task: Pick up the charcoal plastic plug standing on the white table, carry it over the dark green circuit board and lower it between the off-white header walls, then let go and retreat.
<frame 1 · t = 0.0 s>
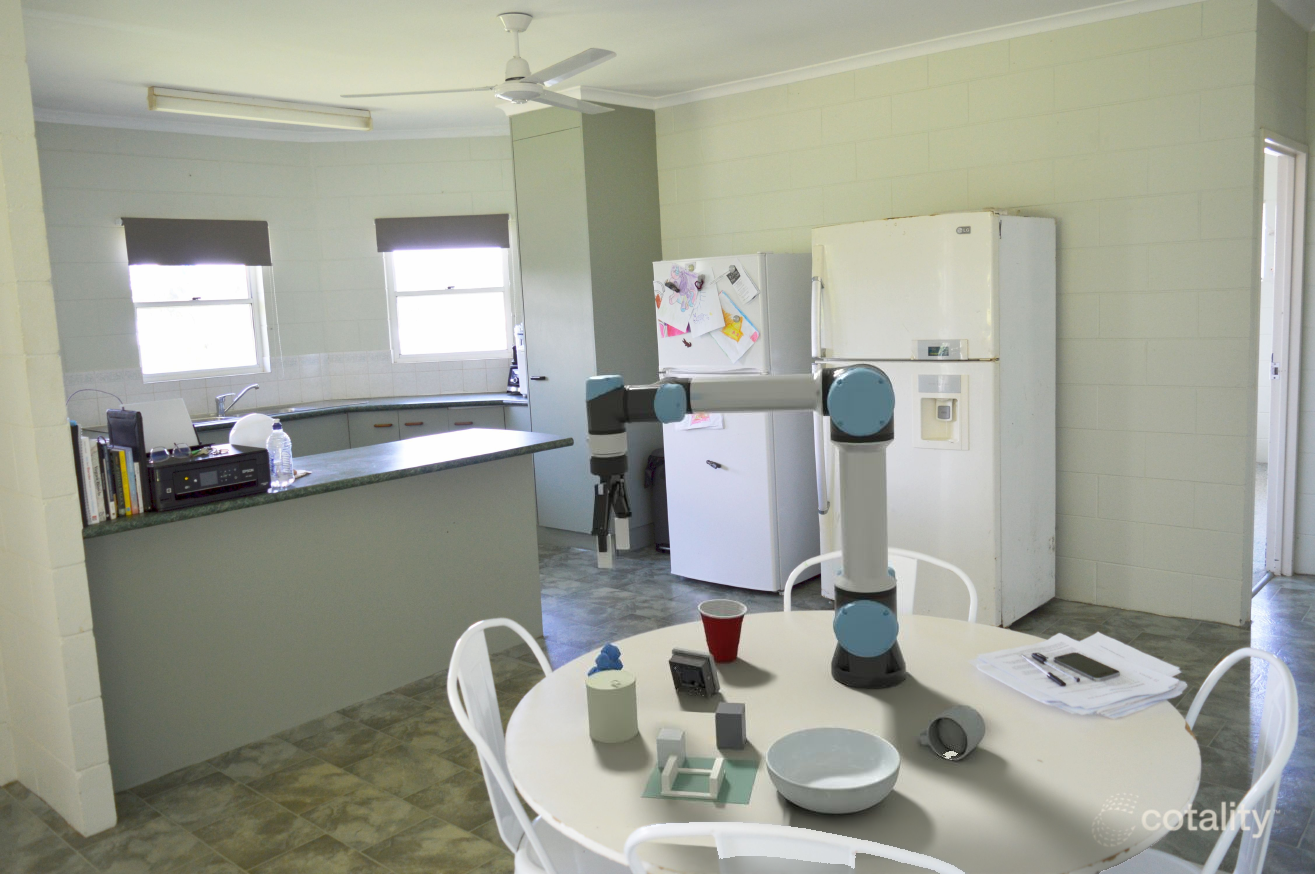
hand: (614, 558, 195), 28 cm above the table, tool pointing down, fingers open, 13 cm apart
electrical switch: (695, 694, 195), on the table
grapes: (605, 704, 193), on the table
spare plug: (672, 761, 164), point 1 cm above the table, touching board
ceramic mug: (949, 750, 166), on the table
serving bowl: (833, 797, 153), on the table
can: (614, 740, 177), on the table
plastic cup: (724, 659, 213), on the table
plug: (732, 751, 170), on the table
board: (702, 786, 158), on the table
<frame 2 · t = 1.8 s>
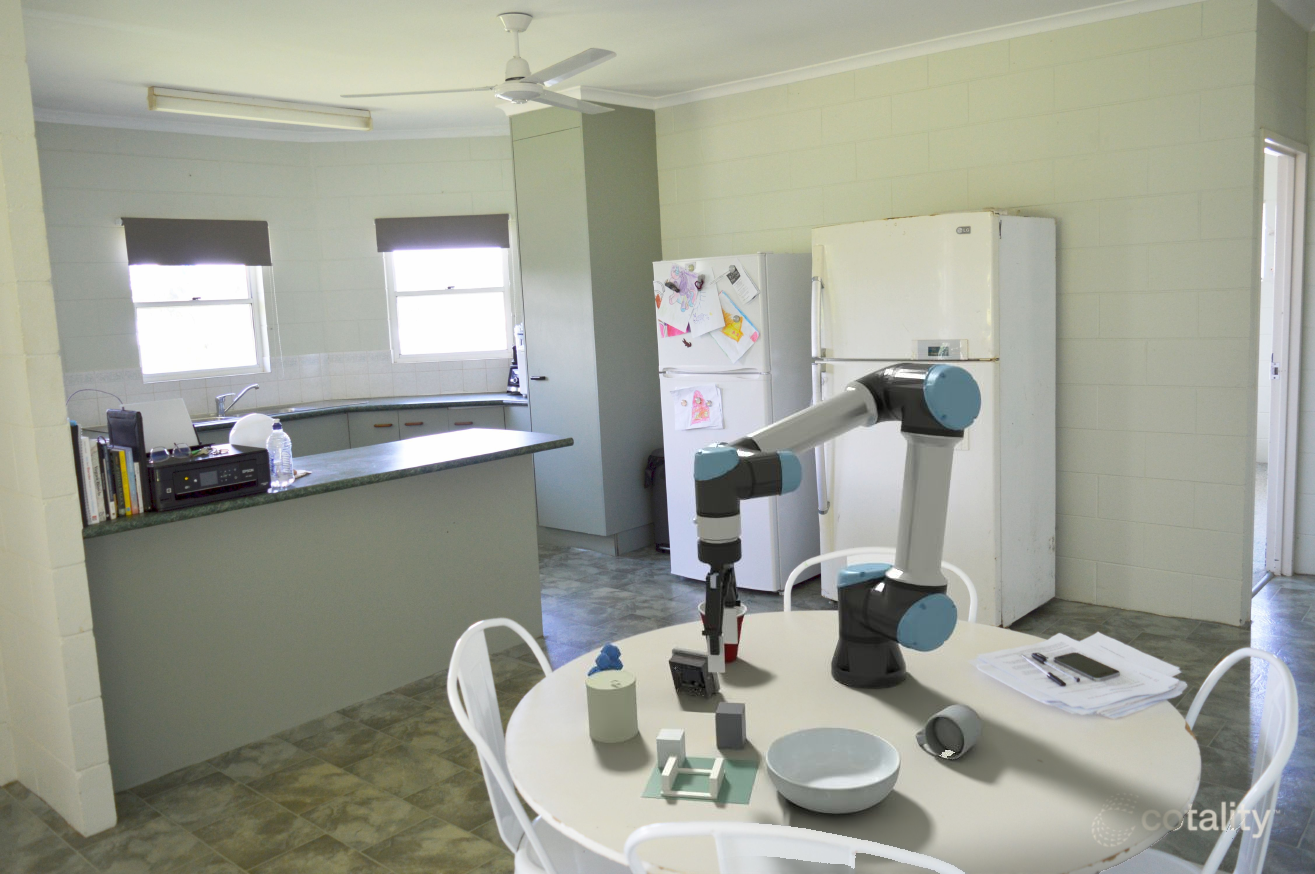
hand: (723, 656, 168), 17 cm above the table, tool pointing down, fingers open, 13 cm apart
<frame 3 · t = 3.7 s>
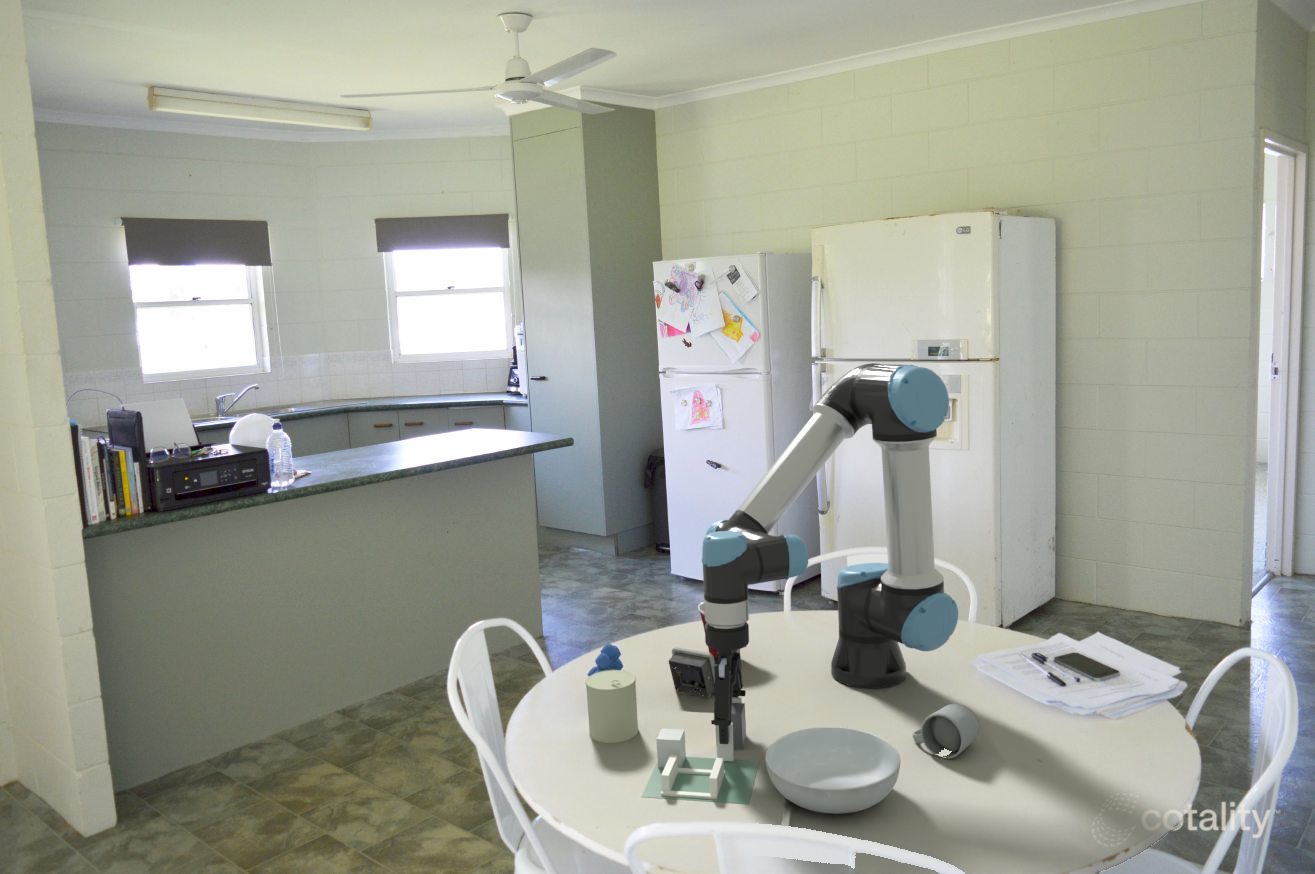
hand: (730, 745, 168), 2 cm above the table, tool pointing down, fingers open, 10 cm apart
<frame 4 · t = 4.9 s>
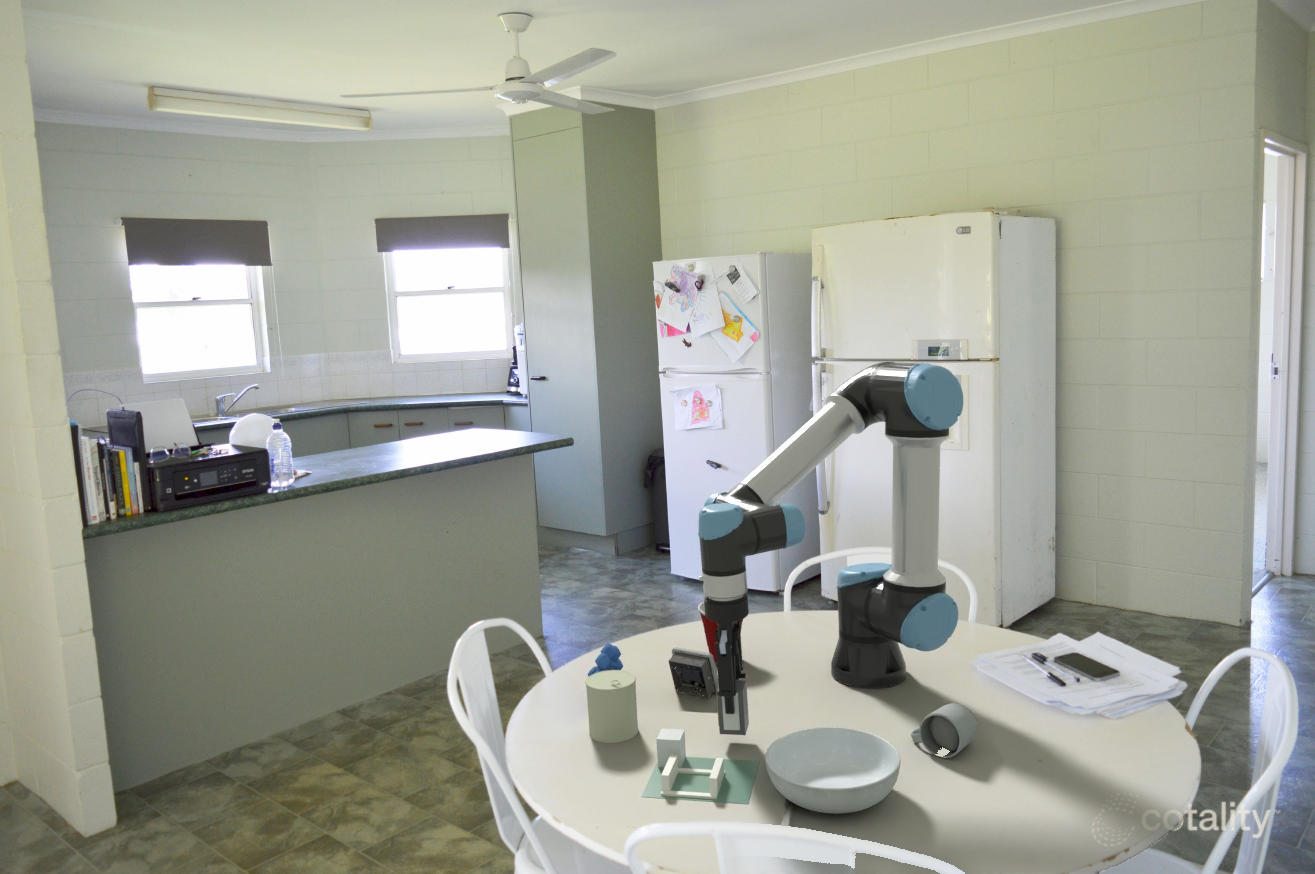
hand: (734, 721, 169), 5 cm above the table, tool pointing down, fingers closed on plug, 4 cm apart
plug: (734, 728, 170), point 4 cm above the table, touching gripper
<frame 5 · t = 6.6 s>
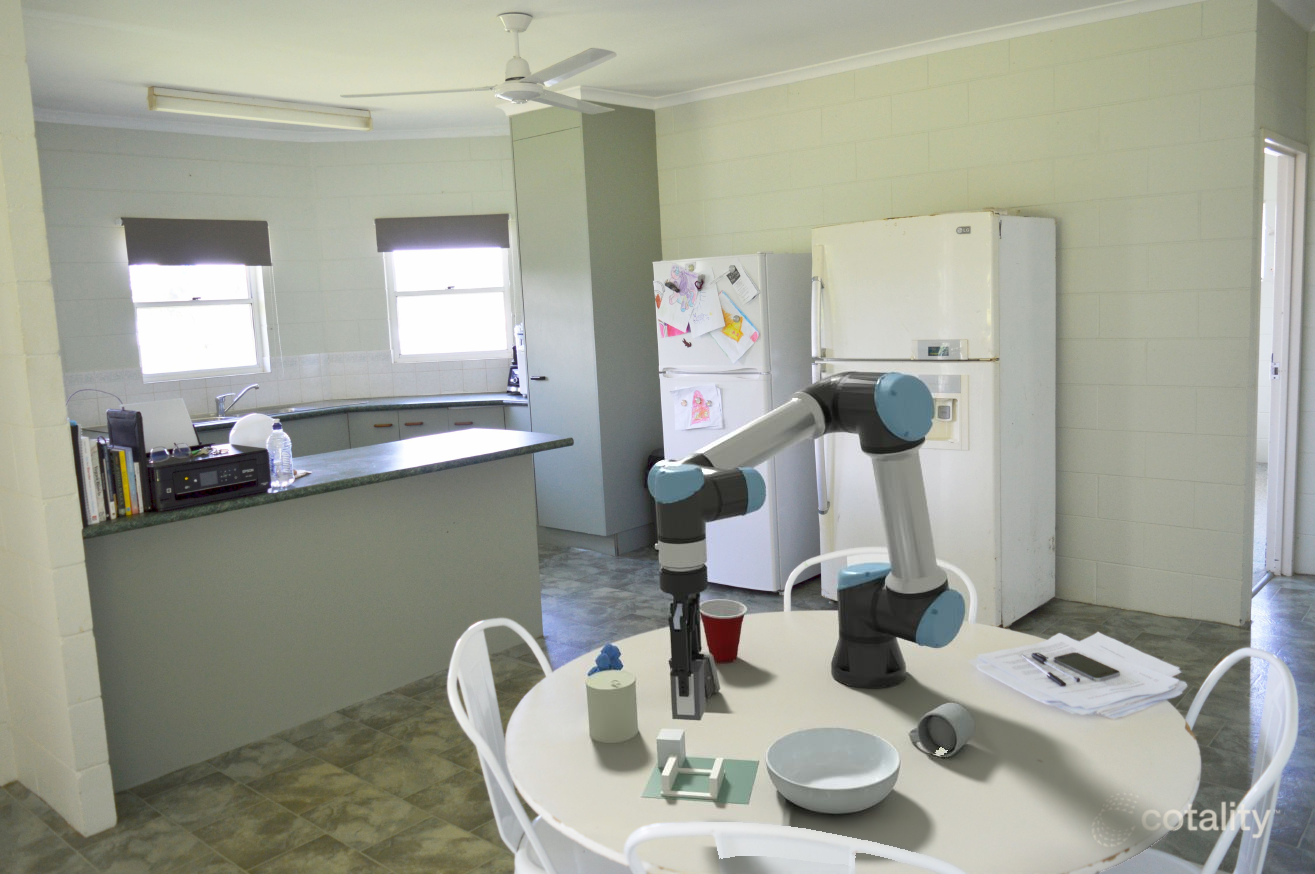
hand: (689, 706, 154), 15 cm above the table, tool pointing down, fingers closed on plug, 4 cm apart
plug: (689, 713, 154), point 13 cm above the table, touching gripper
when the fingers open (3 cm above the table, at t = 8.5 s): plug stays where it is, resting on board.
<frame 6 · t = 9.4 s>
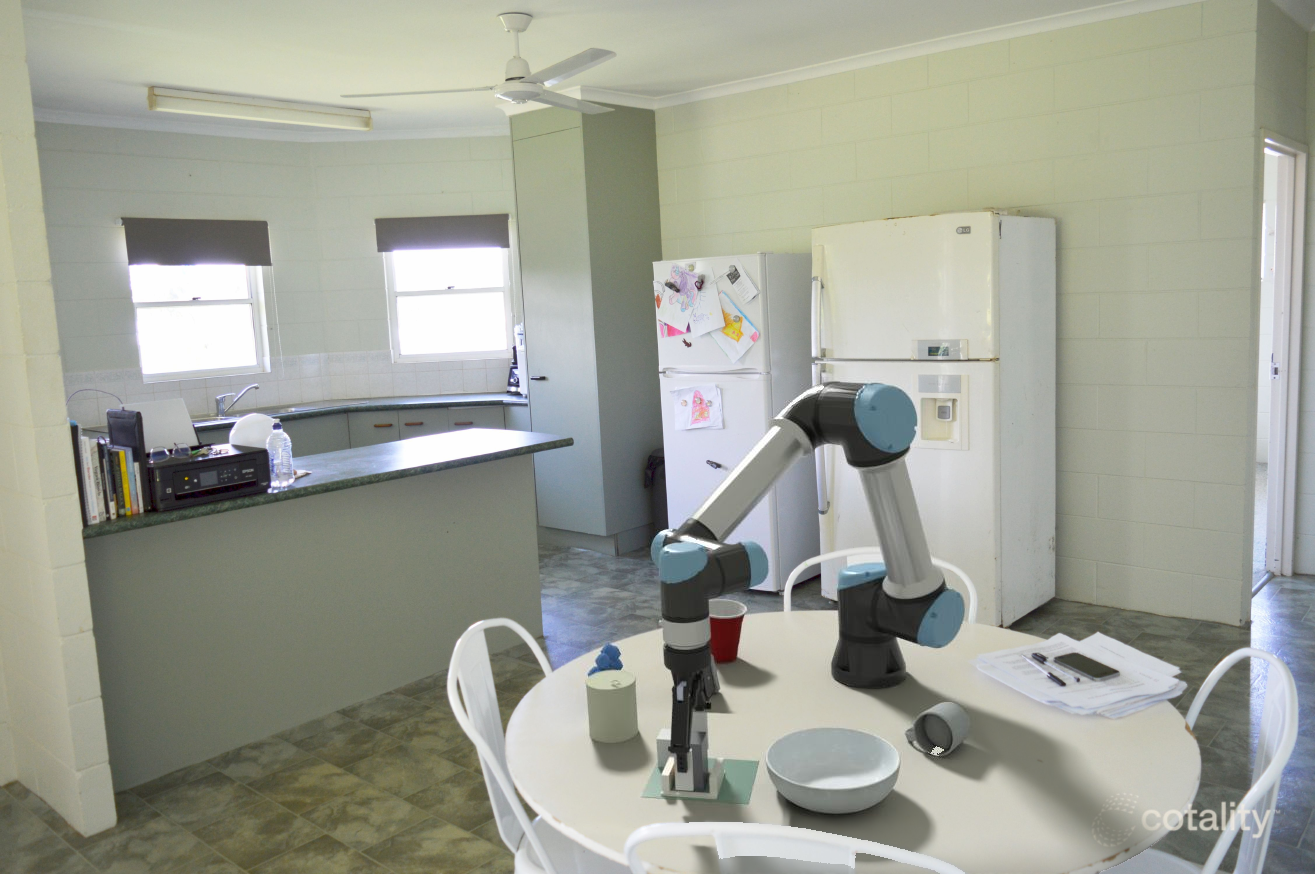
hand: (692, 768, 156), 4 cm above the table, tool pointing down, fingers open, 13 cm apart
plug: (692, 784, 156), point 1 cm above the table, touching board
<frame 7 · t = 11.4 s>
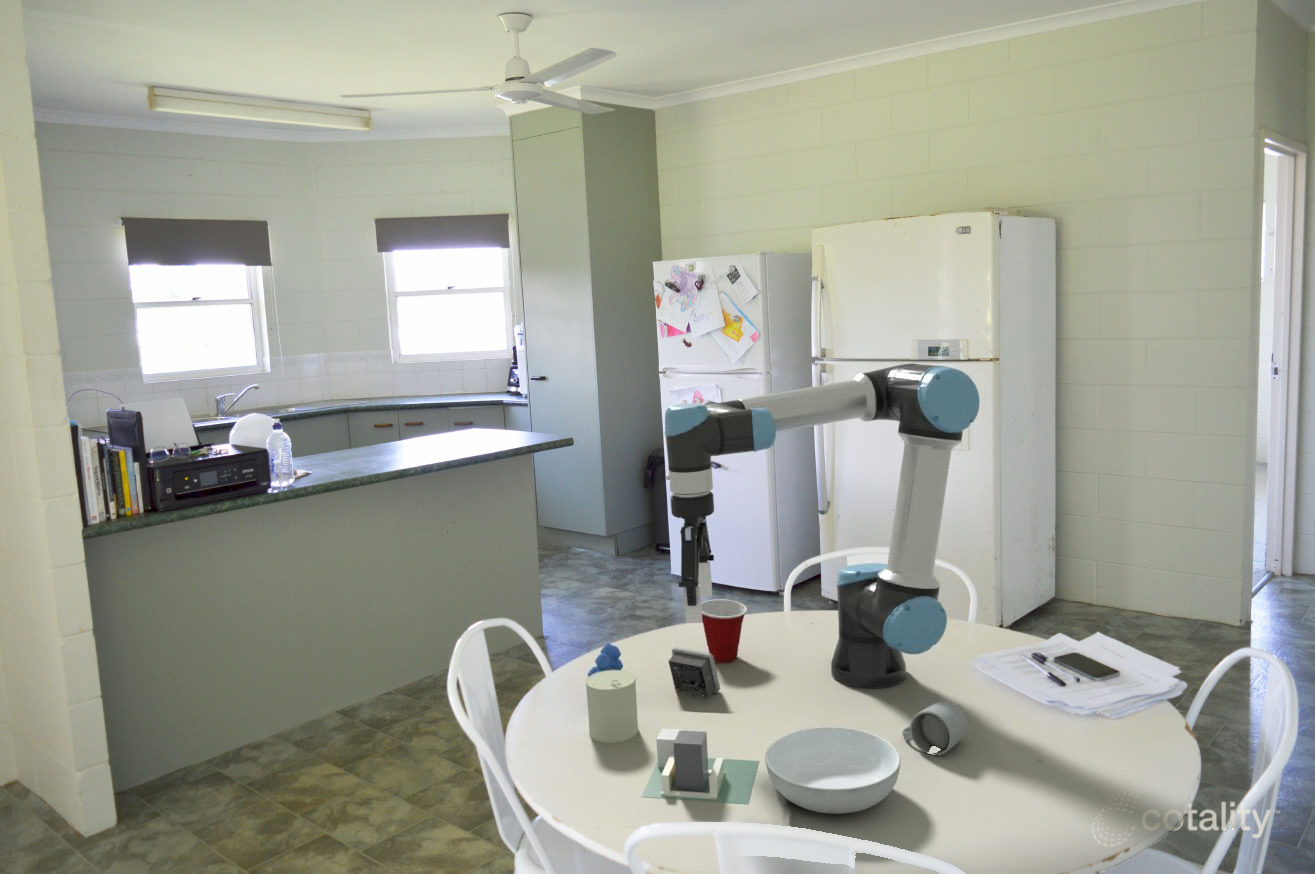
hand: (699, 609, 173), 24 cm above the table, tool pointing down, fingers open, 13 cm apart
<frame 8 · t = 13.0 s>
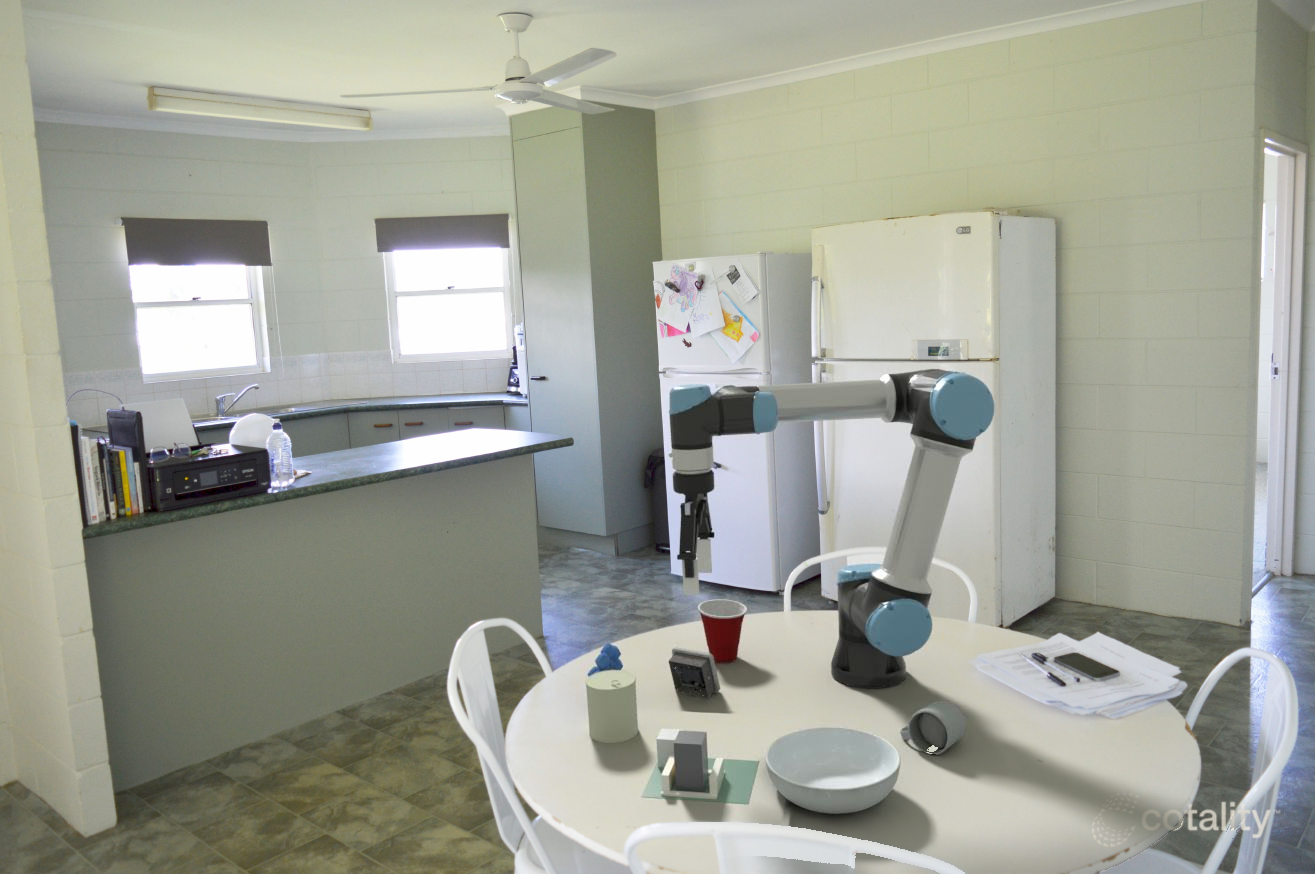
hand: (698, 582, 179), 27 cm above the table, tool pointing down, fingers open, 13 cm apart
at the end: plug 0.2 cm from the target spot on the board, point 1.5 cm above the board's base; plug tilted 0°; the gripper is holding nothing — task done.
